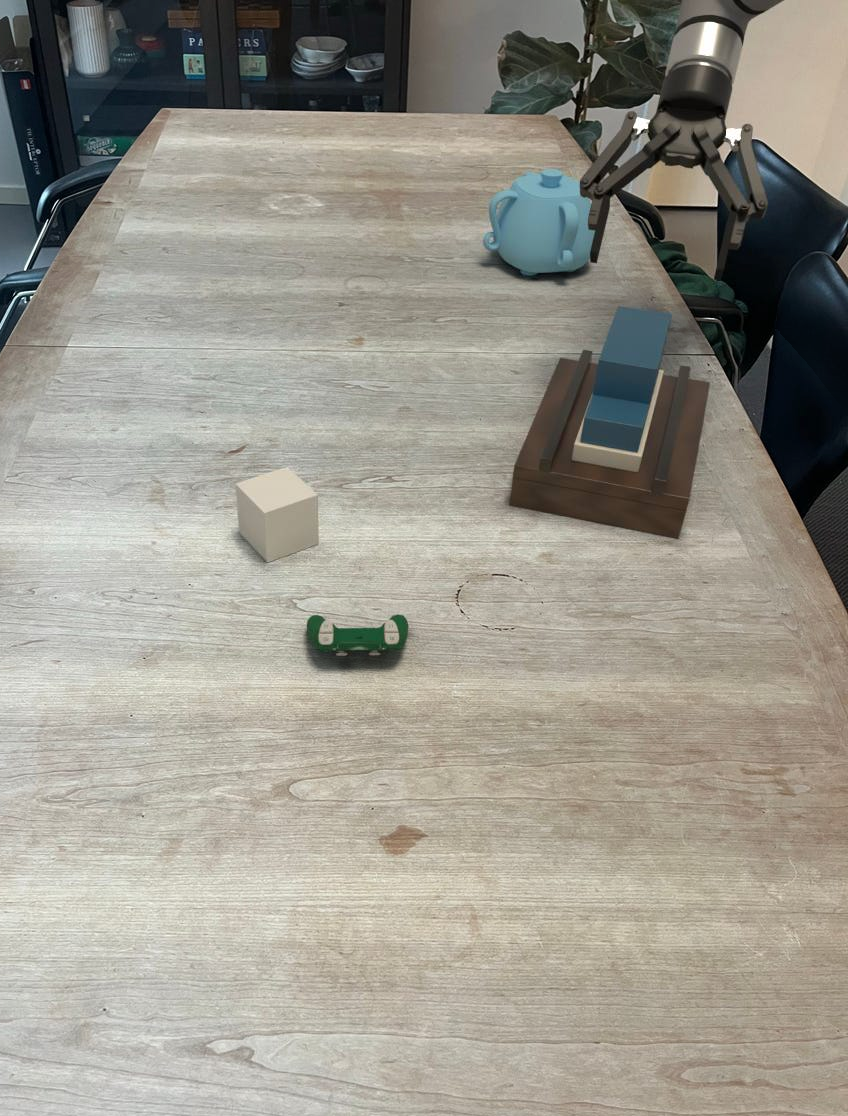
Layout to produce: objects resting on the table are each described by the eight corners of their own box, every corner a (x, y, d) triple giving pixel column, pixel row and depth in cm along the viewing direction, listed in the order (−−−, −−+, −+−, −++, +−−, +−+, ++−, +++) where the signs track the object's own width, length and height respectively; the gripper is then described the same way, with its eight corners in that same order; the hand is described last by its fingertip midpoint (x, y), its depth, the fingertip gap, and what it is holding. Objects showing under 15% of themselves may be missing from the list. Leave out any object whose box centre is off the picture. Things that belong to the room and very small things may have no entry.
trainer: (601, 375, 123) (614, 303, 117) (660, 385, 122) (677, 312, 116) (571, 460, 109) (584, 382, 103) (638, 473, 107) (655, 394, 101)
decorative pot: (467, 265, 160) (475, 173, 151) (520, 234, 170) (530, 146, 160) (560, 293, 153) (574, 198, 144) (610, 259, 162) (626, 168, 153)
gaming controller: (307, 656, 95) (305, 654, 89) (307, 615, 96) (305, 611, 90) (406, 655, 96) (412, 653, 90) (406, 614, 96) (411, 610, 90)
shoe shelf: (700, 419, 126) (713, 370, 121) (678, 538, 107) (693, 486, 103) (554, 394, 130) (561, 345, 125) (508, 505, 111) (515, 452, 107)
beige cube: (267, 563, 103) (264, 513, 99) (239, 532, 107) (234, 483, 103) (319, 543, 105) (318, 494, 101) (289, 515, 109) (287, 466, 105)
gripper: (809, 113, 115) (766, 296, 115) (586, 90, 121) (544, 265, 120) (824, 72, 108) (779, 267, 107) (586, 49, 113) (541, 235, 113)
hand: (655, 266), depth 114 cm, fingers open, 13 cm apart
